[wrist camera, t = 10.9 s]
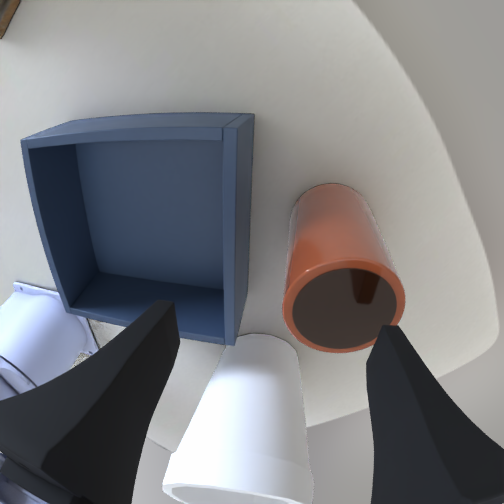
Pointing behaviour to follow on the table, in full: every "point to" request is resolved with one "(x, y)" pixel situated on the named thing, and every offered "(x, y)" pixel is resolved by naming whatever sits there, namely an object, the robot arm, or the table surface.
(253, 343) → the foam cup
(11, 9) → the worn brown figurine
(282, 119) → the table surface
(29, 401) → the robot arm
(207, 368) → the table surface
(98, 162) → the tote
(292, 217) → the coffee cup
